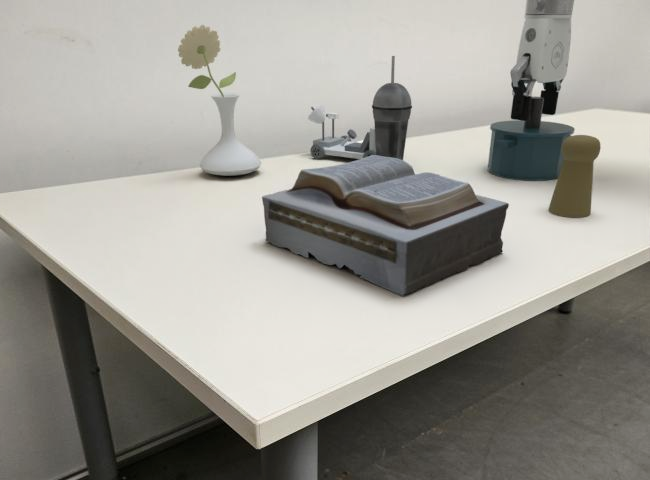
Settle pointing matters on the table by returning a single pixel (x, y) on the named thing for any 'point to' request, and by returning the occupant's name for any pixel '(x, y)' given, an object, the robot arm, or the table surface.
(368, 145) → the toy car
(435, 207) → the bible
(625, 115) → the table surface
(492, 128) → the lid
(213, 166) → the flower in vase
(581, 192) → the cork
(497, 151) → the pot
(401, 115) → the beverage cup
